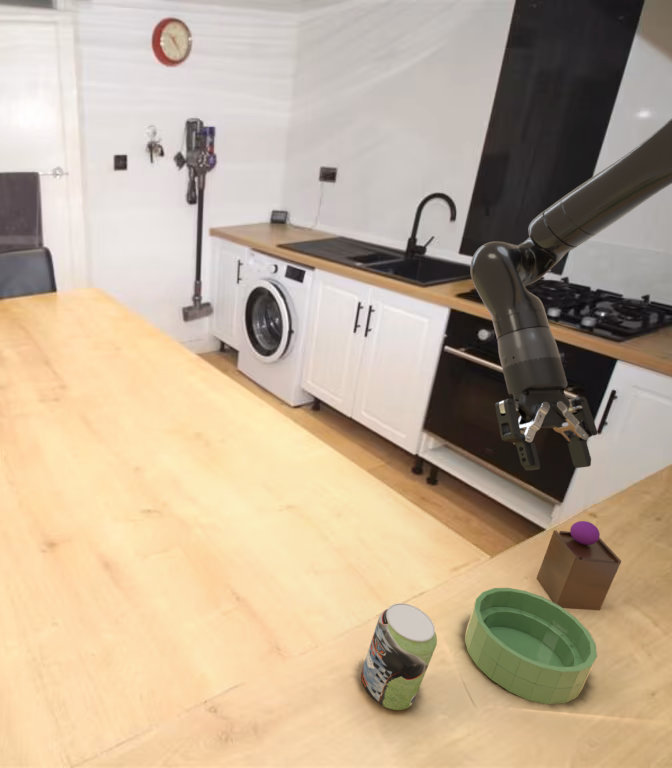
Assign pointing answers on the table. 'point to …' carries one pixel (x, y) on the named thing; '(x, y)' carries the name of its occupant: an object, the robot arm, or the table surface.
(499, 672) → the bowl
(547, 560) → the ball stand
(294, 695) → the table surface
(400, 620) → the beverage can
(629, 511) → the table surface
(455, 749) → the table surface
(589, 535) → the ball
